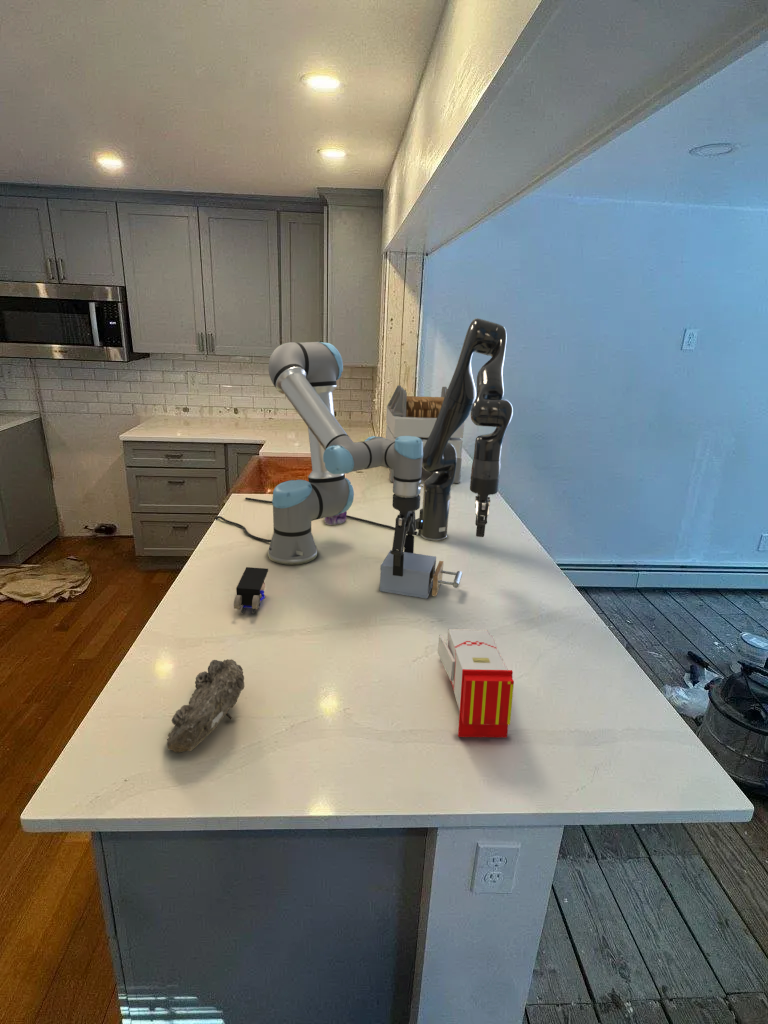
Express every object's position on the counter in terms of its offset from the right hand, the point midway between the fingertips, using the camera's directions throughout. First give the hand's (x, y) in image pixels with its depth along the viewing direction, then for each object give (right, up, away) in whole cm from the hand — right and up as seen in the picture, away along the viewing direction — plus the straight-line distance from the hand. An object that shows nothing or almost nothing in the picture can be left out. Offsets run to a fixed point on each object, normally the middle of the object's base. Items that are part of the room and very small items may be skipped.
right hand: (479, 530), depth 157 cm
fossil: (-59, -34, -49) cm, 84 cm away
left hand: (-21, -10, +4) cm, 24 cm away
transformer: (-9, +24, +118) cm, 121 cm away
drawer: (-14, -16, +4) cm, 22 cm away
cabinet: (-20, -16, +6) cm, 26 cm away
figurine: (-45, +2, +52) cm, 68 cm away
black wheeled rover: (-61, -19, -8) cm, 64 cm away
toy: (-9, -32, -38) cm, 51 cm away
